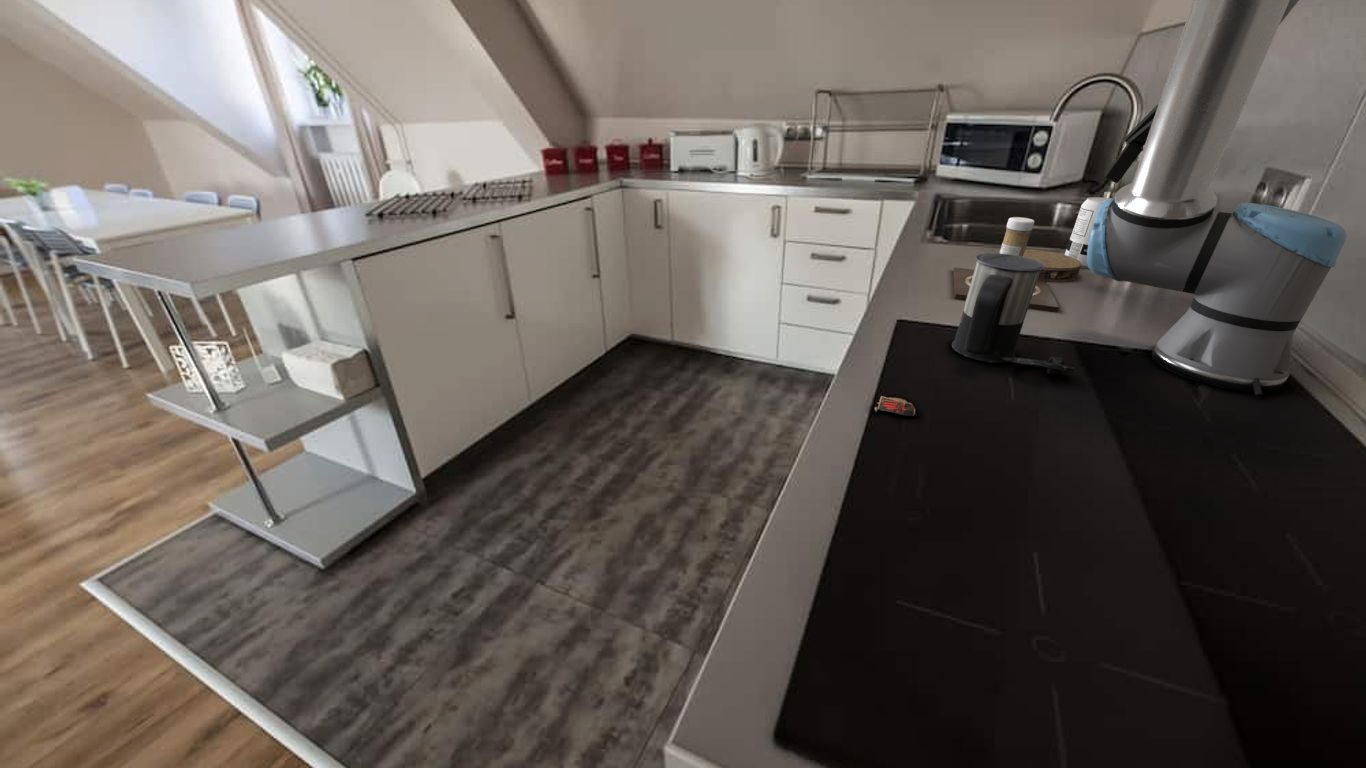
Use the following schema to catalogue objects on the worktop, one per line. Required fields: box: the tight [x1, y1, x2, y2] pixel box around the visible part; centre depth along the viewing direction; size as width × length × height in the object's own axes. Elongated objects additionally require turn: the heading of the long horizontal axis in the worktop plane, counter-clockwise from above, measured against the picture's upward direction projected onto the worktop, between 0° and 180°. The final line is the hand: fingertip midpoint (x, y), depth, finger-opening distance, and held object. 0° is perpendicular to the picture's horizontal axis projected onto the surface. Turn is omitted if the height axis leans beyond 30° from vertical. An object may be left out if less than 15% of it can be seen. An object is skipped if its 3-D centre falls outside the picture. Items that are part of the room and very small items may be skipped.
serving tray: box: [952, 267, 1060, 313], centre depth 116 cm, size 20×18×1 cm
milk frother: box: [951, 252, 1076, 376], centre depth 83 cm, size 14×16×15 cm
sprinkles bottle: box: [999, 216, 1035, 257], centre depth 113 cm, size 5×5×14 cm
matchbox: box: [874, 395, 916, 417], centre depth 73 cm, size 5×5×1 cm
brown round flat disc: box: [1023, 248, 1081, 283], centre depth 128 cm, size 16×16×3 cm
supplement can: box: [1064, 196, 1112, 269], centre depth 131 cm, size 8×8×15 cm
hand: (1130, 181), depth 103 cm, fingers open, 13 cm apart
